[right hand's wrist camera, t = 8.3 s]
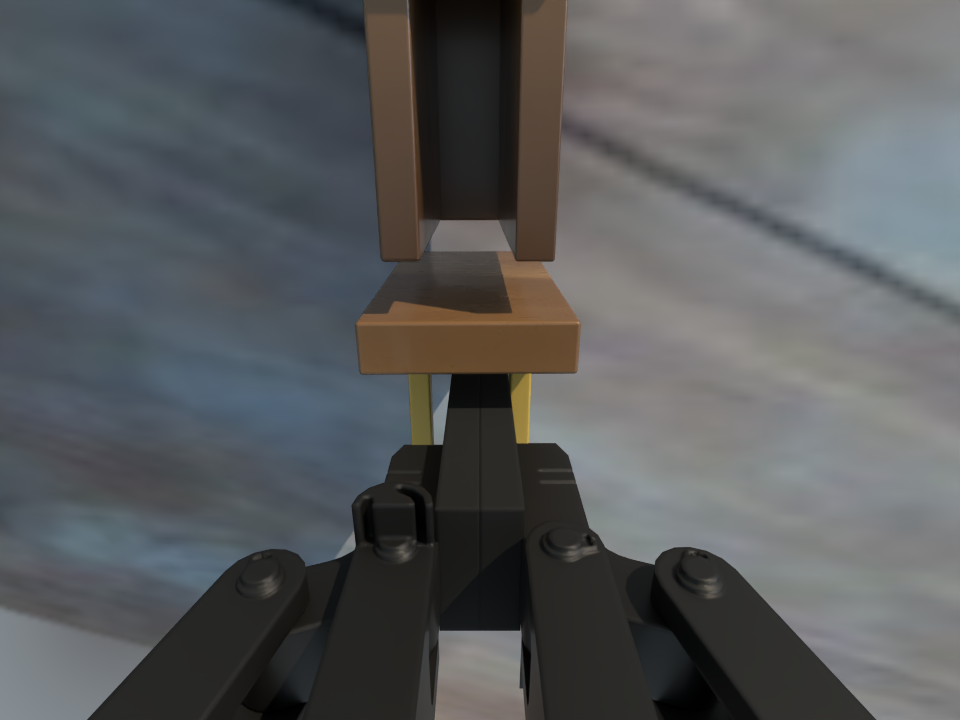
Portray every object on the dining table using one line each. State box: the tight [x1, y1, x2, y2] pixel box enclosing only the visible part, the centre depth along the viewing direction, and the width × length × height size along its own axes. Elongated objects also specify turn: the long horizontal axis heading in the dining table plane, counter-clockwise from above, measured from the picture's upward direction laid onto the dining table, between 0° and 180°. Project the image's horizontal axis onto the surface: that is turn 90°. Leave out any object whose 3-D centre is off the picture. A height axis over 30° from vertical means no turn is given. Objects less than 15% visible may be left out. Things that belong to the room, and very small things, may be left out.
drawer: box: [355, 0, 581, 445], centre depth 13 cm, size 25×5×9 cm, turn 0°
